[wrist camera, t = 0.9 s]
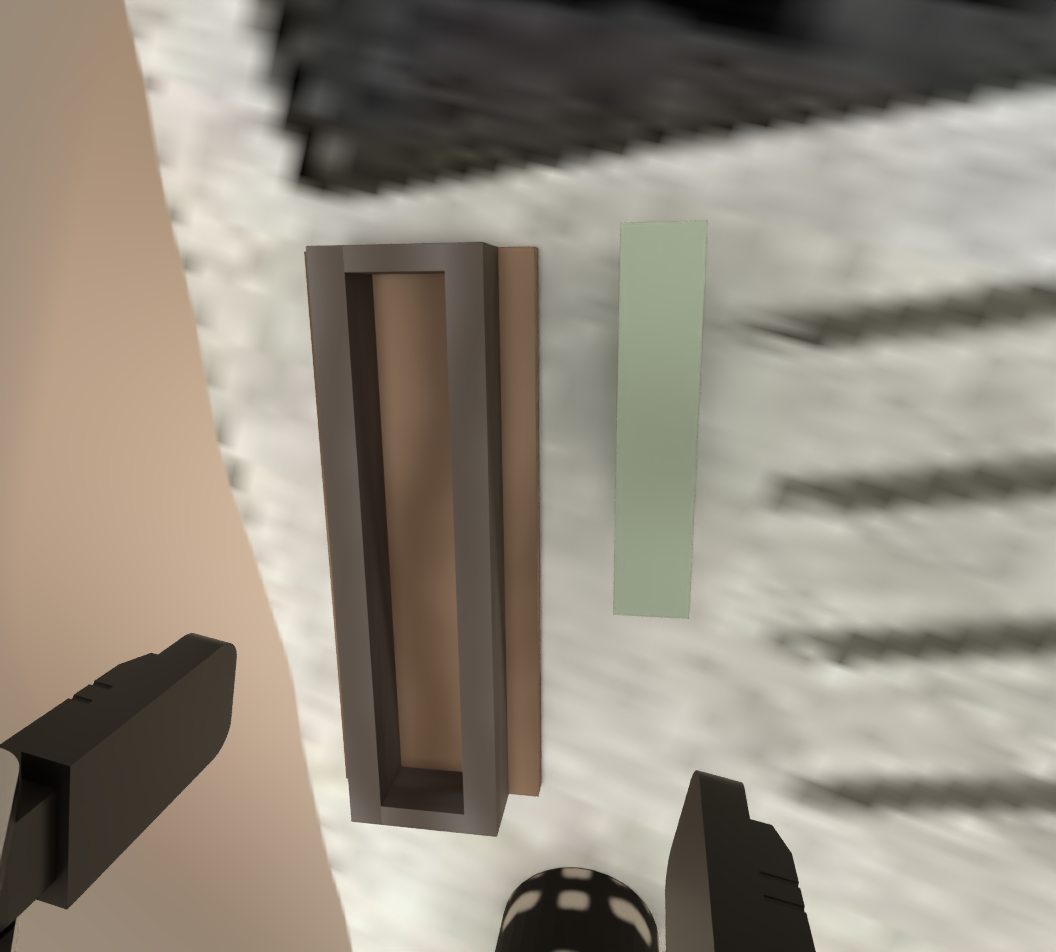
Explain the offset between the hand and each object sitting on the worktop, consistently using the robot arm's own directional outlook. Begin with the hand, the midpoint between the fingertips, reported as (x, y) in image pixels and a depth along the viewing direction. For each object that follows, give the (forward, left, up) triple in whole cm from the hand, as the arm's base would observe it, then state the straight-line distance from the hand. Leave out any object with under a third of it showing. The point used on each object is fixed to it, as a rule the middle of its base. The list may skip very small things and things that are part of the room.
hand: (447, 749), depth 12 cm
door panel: (-4, -3, -22) cm, 22 cm away
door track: (+6, +4, -21) cm, 23 cm away
